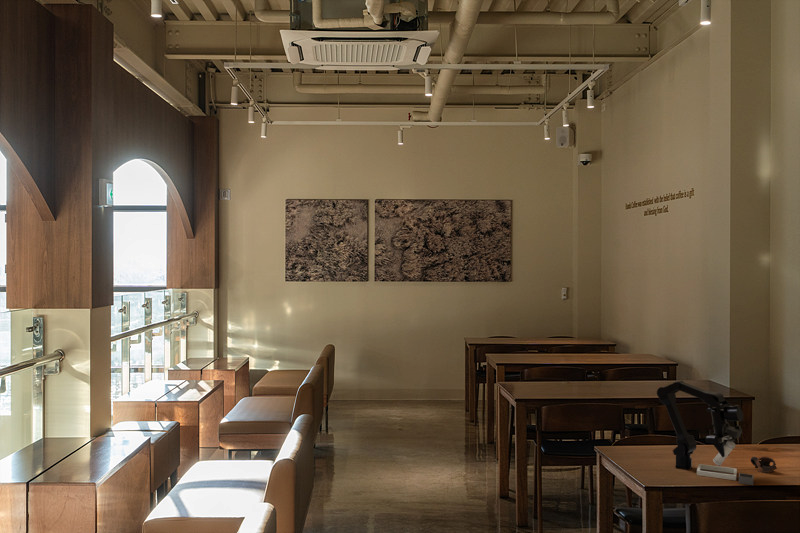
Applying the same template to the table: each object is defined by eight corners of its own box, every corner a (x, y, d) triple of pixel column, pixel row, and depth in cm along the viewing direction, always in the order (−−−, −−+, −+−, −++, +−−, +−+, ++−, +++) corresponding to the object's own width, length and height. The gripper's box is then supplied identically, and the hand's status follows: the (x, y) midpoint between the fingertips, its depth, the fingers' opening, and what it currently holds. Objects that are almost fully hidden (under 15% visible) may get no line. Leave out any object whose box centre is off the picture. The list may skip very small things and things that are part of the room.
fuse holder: (738, 485, 296) (738, 476, 296) (738, 481, 302) (739, 472, 301) (753, 487, 294) (753, 478, 294) (753, 483, 299) (753, 474, 299)
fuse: (712, 462, 309) (727, 442, 303) (713, 457, 312) (728, 438, 306) (720, 467, 307) (735, 447, 301) (721, 462, 310) (736, 443, 305)
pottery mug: (780, 473, 316) (781, 460, 312) (769, 485, 311) (770, 472, 308) (754, 460, 325) (755, 448, 321) (744, 472, 320) (744, 459, 317)
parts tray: (696, 477, 308) (696, 470, 308) (698, 470, 319) (698, 463, 319) (735, 482, 300) (736, 475, 300) (736, 475, 311) (736, 468, 311)
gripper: (725, 424, 296) (731, 460, 294) (747, 418, 307) (753, 453, 305) (701, 424, 305) (707, 459, 303) (724, 418, 316) (730, 452, 314)
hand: (725, 456), depth 306 cm, fingers closed on fuse, 4 cm apart
